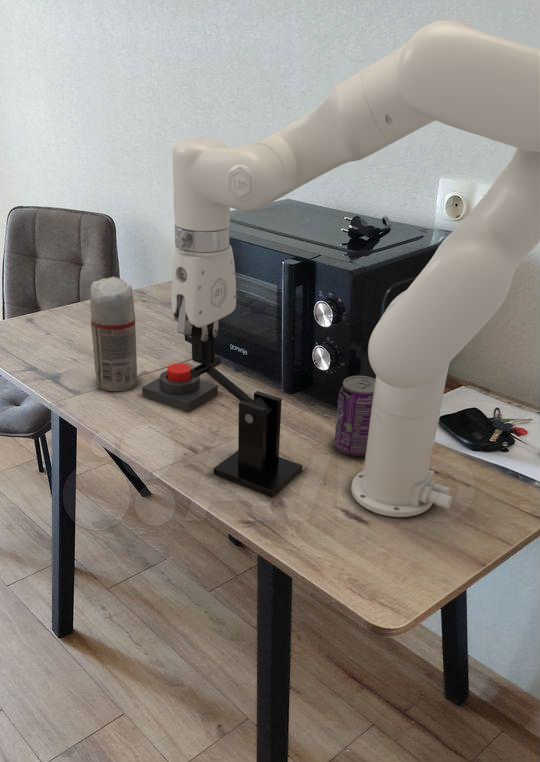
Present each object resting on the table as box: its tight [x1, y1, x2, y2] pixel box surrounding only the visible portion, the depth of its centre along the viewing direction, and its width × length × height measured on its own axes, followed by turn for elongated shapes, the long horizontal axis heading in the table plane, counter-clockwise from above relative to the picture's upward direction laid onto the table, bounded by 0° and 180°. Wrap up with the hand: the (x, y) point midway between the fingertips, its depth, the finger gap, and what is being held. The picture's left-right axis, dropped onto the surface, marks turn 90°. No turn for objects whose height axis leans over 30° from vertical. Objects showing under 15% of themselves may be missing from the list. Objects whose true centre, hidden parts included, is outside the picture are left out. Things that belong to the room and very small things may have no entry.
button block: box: [141, 370, 219, 413], centre depth 132 cm, size 11×9×4 cm
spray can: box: [89, 275, 138, 392], centre depth 131 cm, size 8×8×20 cm
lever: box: [190, 355, 274, 420], centre depth 106 cm, size 13×6×2 cm, turn 57°
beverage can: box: [333, 375, 376, 457], centre depth 116 cm, size 7×7×12 cm
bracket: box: [213, 390, 303, 498], centre depth 108 cm, size 11×9×13 cm
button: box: [166, 363, 192, 382], centre depth 131 cm, size 4×4×2 cm
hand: (203, 361), depth 107 cm, fingers closed
